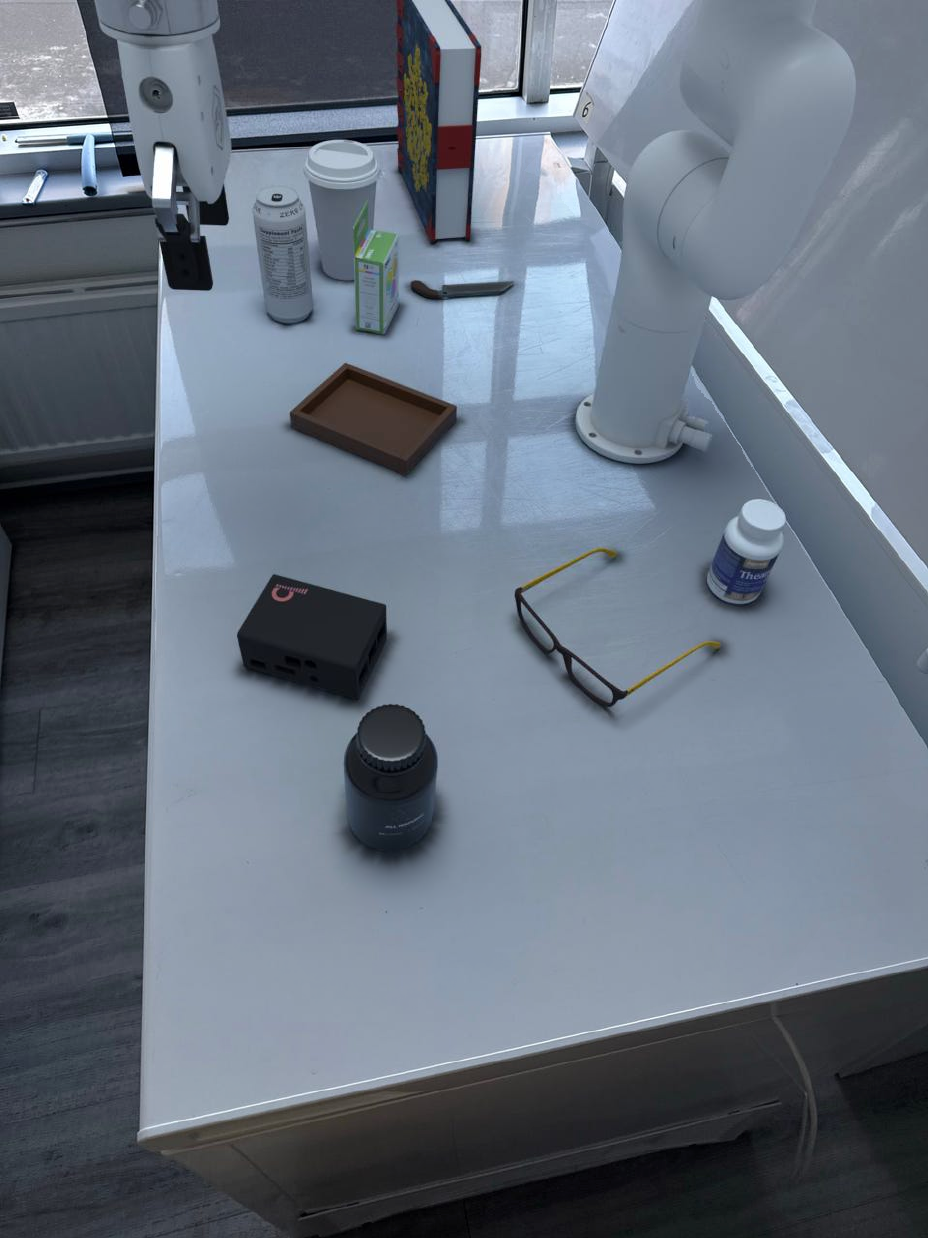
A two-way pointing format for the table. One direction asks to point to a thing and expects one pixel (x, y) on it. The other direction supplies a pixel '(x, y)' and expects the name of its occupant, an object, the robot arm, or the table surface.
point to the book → (437, 113)
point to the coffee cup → (340, 199)
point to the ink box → (375, 276)
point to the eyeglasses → (568, 654)
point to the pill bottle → (747, 552)
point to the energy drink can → (283, 253)
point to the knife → (461, 289)
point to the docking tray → (374, 418)
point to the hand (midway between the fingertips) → (200, 254)
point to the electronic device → (313, 635)
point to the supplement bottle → (390, 778)
